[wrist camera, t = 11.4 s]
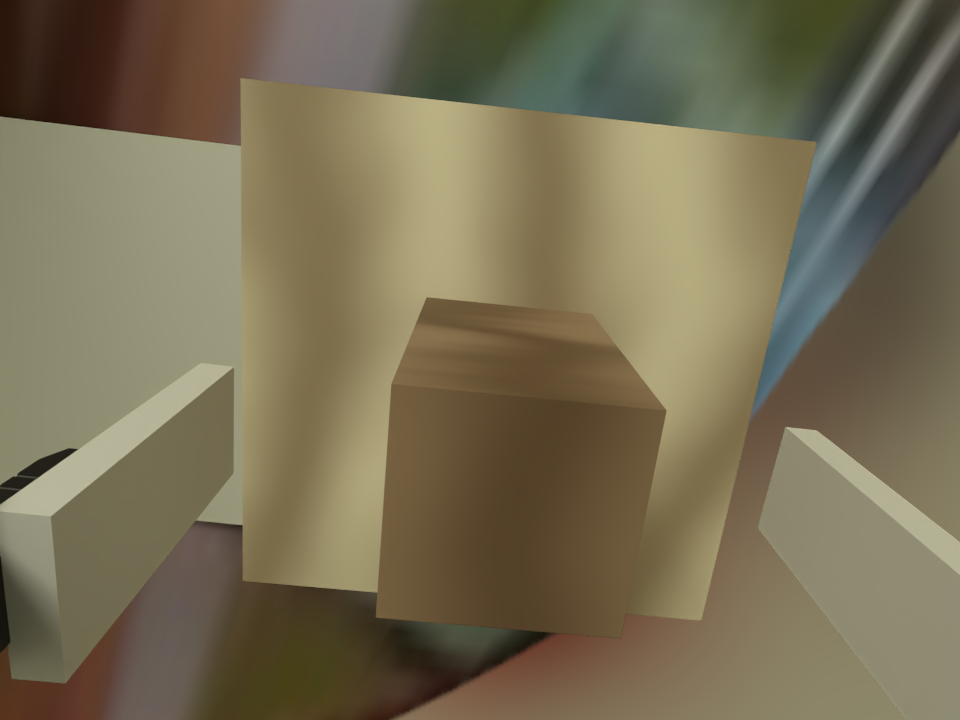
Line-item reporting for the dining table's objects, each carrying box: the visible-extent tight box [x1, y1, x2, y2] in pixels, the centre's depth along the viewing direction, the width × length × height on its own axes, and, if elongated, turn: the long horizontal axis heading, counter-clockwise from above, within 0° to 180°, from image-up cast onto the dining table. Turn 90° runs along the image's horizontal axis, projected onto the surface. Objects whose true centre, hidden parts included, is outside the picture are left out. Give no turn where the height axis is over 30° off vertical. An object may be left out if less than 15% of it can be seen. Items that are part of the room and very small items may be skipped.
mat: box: [0, 117, 243, 525], centre depth 32 cm, size 20×20×1 cm
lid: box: [241, 78, 817, 638], centre depth 17 cm, size 16×16×9 cm
